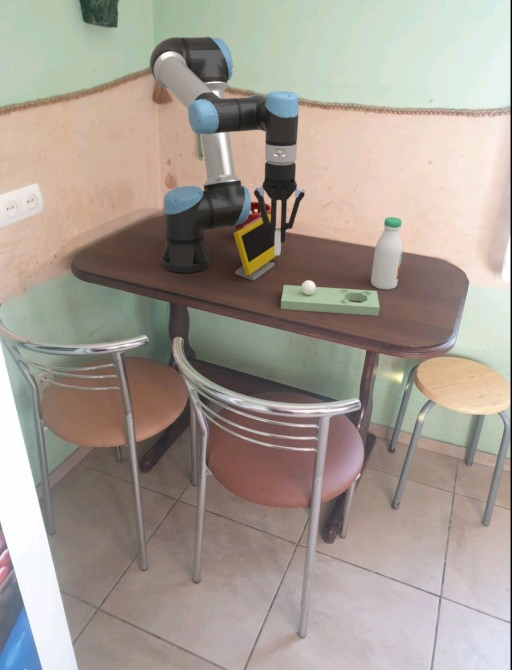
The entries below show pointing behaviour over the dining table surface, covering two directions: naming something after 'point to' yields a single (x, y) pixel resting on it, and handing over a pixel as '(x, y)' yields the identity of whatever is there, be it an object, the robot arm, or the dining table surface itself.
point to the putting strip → (331, 300)
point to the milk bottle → (387, 256)
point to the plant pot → (253, 214)
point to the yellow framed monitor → (255, 249)
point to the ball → (308, 287)
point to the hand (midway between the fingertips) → (277, 253)
